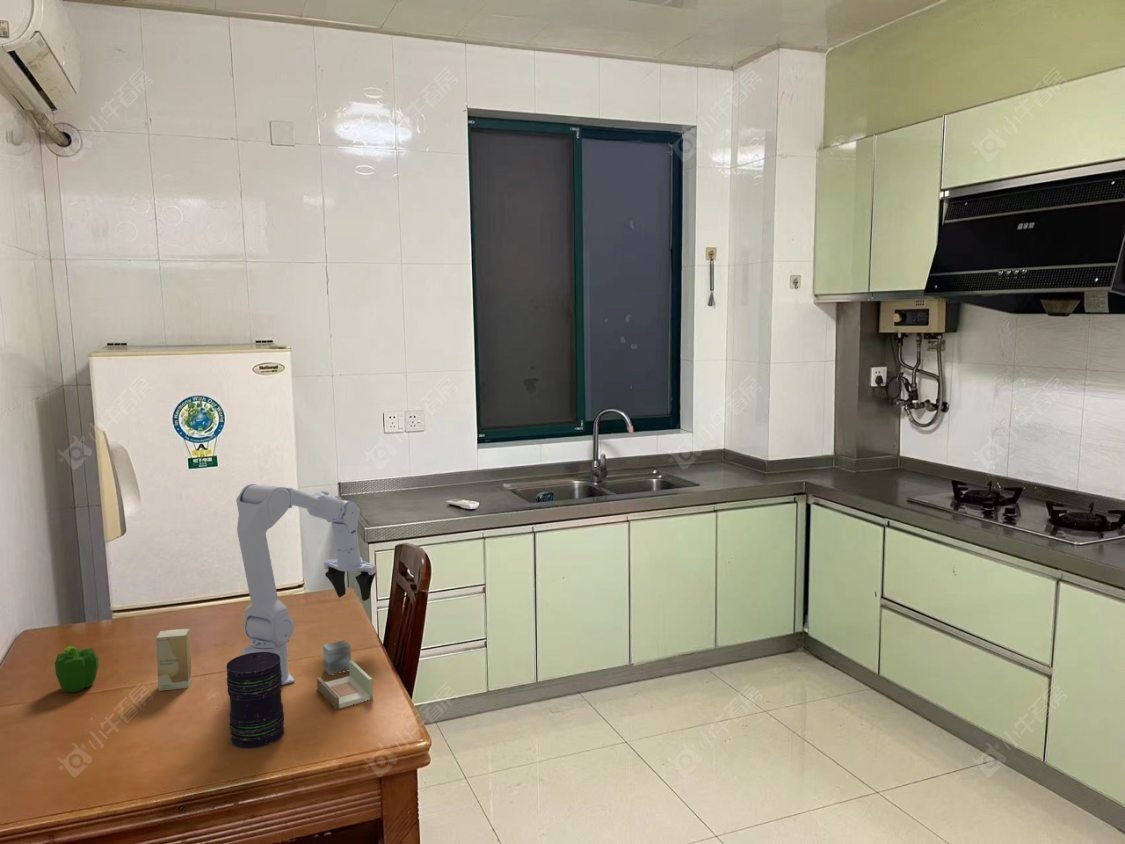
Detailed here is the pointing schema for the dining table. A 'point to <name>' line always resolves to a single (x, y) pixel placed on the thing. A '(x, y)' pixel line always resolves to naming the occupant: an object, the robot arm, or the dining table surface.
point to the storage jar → (255, 700)
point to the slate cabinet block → (336, 657)
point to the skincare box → (173, 659)
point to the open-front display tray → (347, 688)
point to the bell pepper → (76, 668)
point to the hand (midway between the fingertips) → (354, 597)
